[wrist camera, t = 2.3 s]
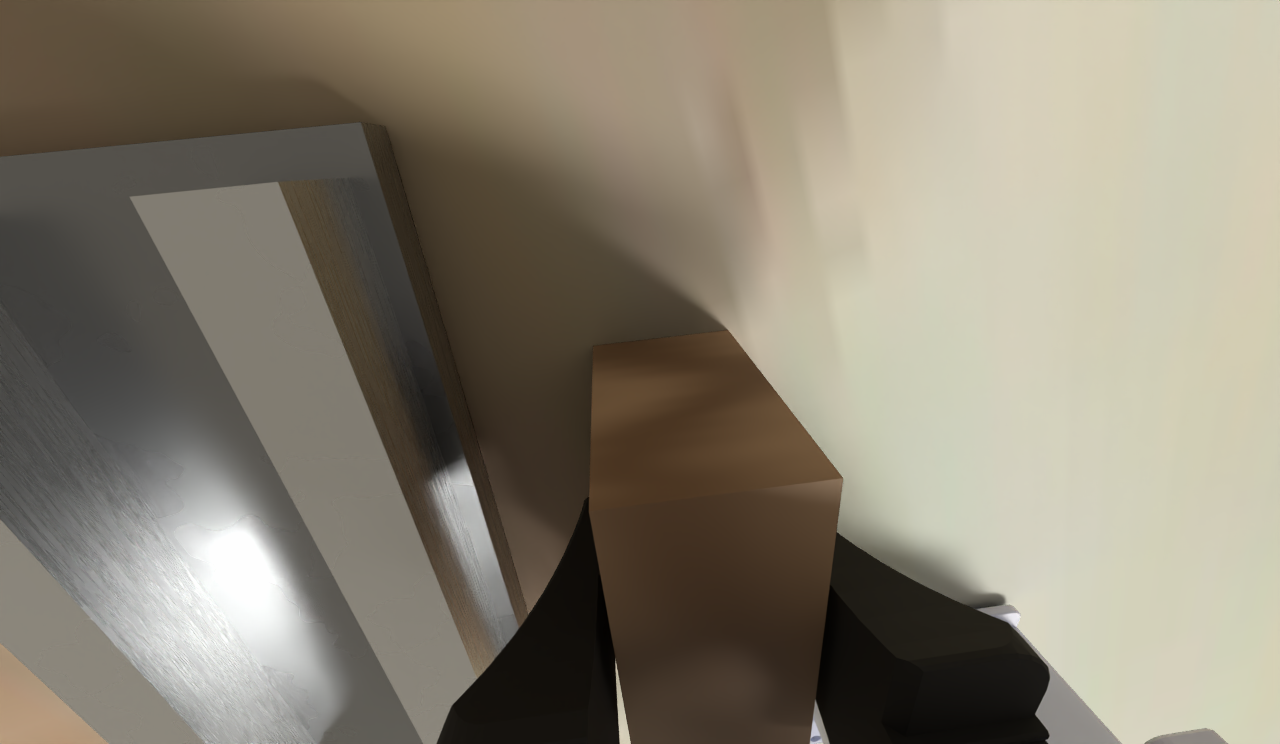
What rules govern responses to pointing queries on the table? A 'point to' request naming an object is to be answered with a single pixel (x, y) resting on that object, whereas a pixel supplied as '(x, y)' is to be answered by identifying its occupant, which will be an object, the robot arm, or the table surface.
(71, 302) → the slot base
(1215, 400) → the table surface
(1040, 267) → the table surface
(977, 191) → the table surface
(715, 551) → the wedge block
